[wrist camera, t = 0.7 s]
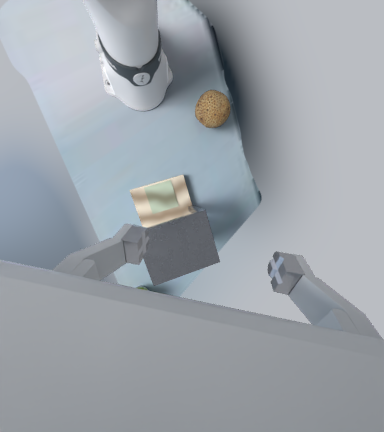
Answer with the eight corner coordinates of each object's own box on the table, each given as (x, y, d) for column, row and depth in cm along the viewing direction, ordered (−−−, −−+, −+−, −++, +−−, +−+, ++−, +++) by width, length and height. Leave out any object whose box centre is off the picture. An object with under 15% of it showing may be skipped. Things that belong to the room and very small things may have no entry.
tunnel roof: (144, 220, 49) (134, 232, 33) (192, 205, 50) (205, 209, 34) (157, 257, 51) (153, 286, 35) (202, 241, 52) (220, 261, 36)
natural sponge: (192, 133, 50) (199, 118, 40) (192, 101, 49) (199, 78, 39) (221, 134, 51) (235, 120, 42) (221, 104, 50) (235, 82, 40)
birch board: (130, 190, 49) (129, 190, 47) (182, 175, 51) (183, 174, 49) (157, 265, 53) (157, 268, 51) (204, 249, 55) (206, 251, 53)
